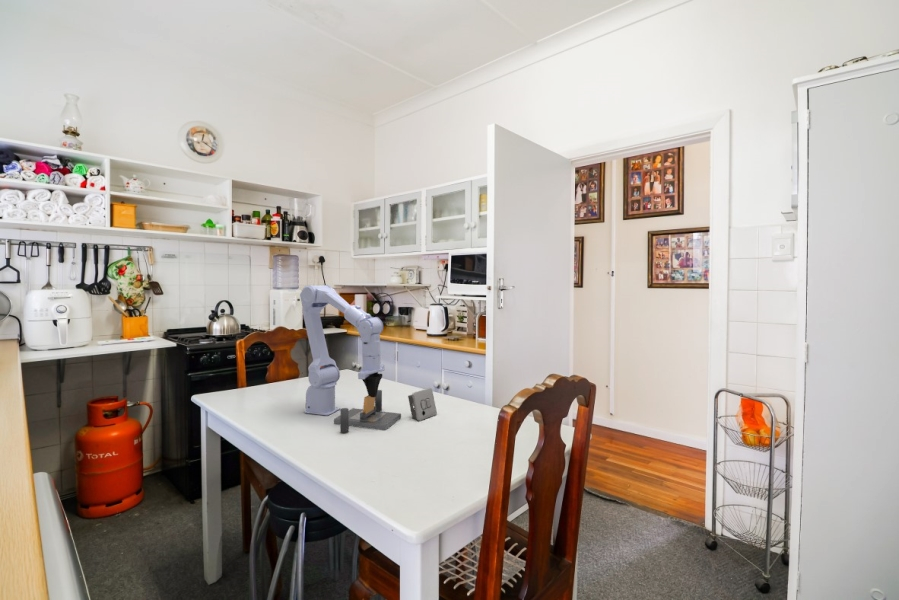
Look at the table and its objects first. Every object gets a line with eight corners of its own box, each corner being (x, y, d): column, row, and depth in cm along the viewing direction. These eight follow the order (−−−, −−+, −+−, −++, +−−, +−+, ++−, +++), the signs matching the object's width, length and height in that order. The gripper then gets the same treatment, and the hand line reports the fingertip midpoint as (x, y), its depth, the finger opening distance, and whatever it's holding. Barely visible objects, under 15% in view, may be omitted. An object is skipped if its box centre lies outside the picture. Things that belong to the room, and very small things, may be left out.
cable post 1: (338, 432, 130) (338, 410, 130) (343, 430, 133) (343, 407, 132) (345, 433, 130) (345, 410, 129) (350, 431, 132) (350, 408, 132)
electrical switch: (418, 421, 142) (417, 393, 142) (407, 420, 145) (406, 392, 145) (437, 415, 149) (435, 388, 149) (426, 413, 152) (424, 387, 152)
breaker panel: (334, 423, 138) (334, 412, 138) (352, 412, 150) (352, 401, 150) (385, 430, 133) (385, 418, 133) (400, 418, 145) (401, 407, 145)
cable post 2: (373, 410, 152) (373, 391, 152) (376, 409, 155) (376, 389, 154) (380, 411, 152) (380, 391, 151) (382, 409, 154) (383, 390, 154)
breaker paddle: (361, 417, 139) (363, 397, 138) (370, 412, 145) (372, 392, 144) (365, 418, 138) (367, 398, 138) (374, 413, 144) (376, 393, 144)
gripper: (372, 359, 132) (373, 403, 133) (392, 352, 146) (393, 392, 146) (351, 358, 134) (352, 402, 135) (373, 351, 148) (374, 390, 148)
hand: (372, 396), depth 141 cm, fingers closed, pressing on breaker paddle
